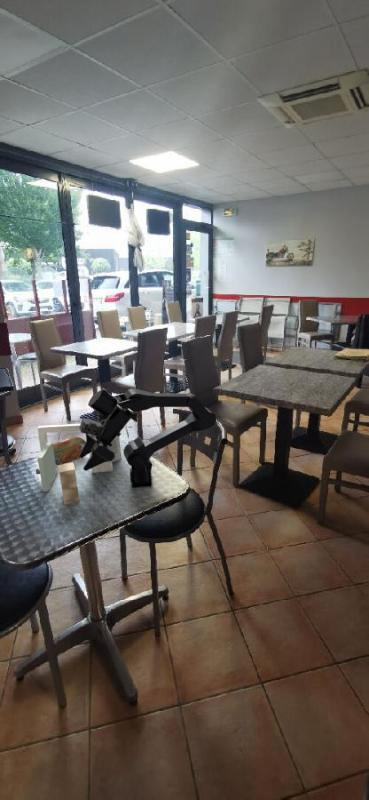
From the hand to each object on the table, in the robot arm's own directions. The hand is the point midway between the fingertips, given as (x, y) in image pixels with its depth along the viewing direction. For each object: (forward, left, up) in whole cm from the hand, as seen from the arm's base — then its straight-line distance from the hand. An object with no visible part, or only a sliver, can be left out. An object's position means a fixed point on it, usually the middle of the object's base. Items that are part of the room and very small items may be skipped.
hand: (82, 463), depth 122 cm
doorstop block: (+5, +1, -11) cm, 12 cm away
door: (+14, -9, -11) cm, 20 cm away
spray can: (-5, -25, -11) cm, 28 cm away
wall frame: (+5, -16, -11) cm, 20 cm away
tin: (+11, -25, -11) cm, 30 cm away
